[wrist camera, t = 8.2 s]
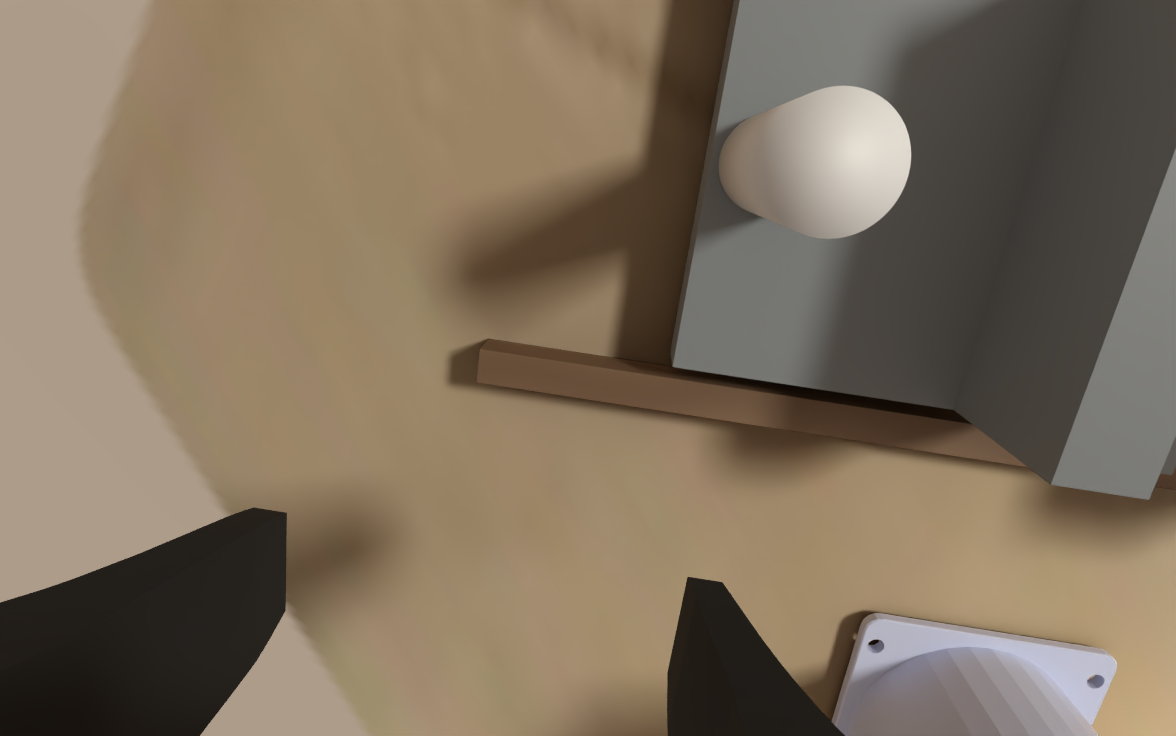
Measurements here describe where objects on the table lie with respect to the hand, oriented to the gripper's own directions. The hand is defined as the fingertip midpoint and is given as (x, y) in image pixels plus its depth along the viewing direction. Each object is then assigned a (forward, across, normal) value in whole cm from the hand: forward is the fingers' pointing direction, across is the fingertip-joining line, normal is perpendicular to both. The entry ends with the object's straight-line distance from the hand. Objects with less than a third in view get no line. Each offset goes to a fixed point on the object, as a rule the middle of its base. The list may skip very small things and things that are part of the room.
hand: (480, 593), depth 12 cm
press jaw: (+9, -8, -8) cm, 15 cm away
